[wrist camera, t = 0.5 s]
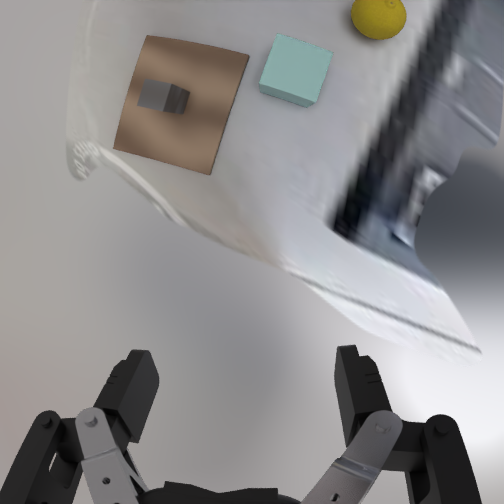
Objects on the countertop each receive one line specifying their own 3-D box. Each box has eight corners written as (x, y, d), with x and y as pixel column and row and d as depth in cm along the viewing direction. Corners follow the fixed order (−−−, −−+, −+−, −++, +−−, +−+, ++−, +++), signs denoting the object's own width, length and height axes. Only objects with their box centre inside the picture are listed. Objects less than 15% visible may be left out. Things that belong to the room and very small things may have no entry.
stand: (149, 36, 28) (121, 18, 21) (249, 56, 29) (244, 36, 22) (115, 148, 33) (81, 155, 26) (210, 174, 34) (195, 186, 27)
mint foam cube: (275, 50, 28) (277, 33, 22) (321, 66, 29) (333, 52, 23) (260, 92, 30) (258, 83, 24) (306, 107, 31) (315, 102, 25)
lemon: (339, 35, 27) (358, 12, 20) (349, -1, 25) (368, -29, 18) (384, 53, 28) (413, 37, 20) (393, 17, 25) (421, -5, 18)
